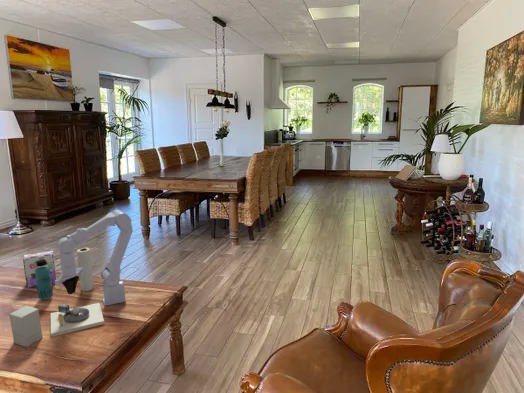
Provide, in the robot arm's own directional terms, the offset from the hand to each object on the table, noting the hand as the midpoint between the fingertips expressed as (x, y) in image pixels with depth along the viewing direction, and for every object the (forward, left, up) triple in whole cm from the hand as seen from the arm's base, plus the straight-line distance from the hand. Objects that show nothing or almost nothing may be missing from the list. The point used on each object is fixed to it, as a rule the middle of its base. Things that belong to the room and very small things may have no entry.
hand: (71, 292), depth 170 cm
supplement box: (+17, +15, -10) cm, 25 cm away
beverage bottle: (+11, -20, -10) cm, 25 cm away
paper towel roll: (-8, -23, -10) cm, 26 cm away
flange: (0, +7, -8) cm, 10 cm away
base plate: (-1, +8, -9) cm, 13 cm away
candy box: (+13, -41, -10) cm, 44 cm away
